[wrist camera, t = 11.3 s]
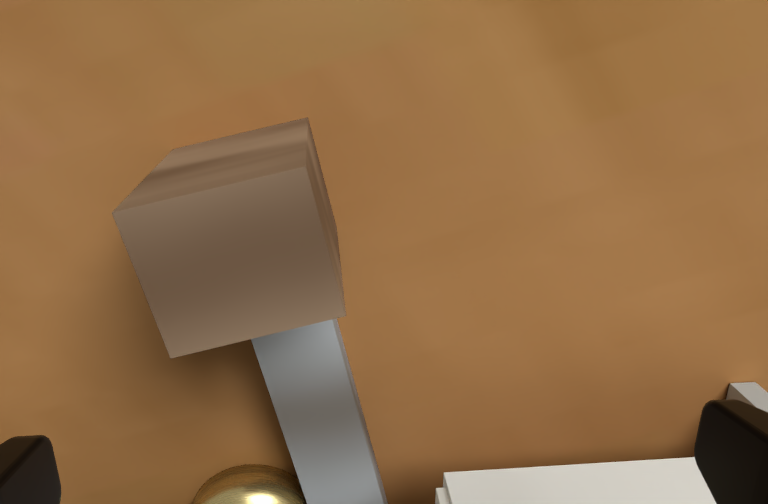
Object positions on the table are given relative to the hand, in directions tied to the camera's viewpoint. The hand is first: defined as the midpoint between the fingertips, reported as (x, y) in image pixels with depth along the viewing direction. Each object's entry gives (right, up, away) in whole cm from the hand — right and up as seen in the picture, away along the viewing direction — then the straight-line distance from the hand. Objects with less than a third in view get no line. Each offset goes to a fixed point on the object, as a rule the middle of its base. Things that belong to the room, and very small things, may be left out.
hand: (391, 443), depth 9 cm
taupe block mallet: (-3, -1, +13) cm, 13 cm away
